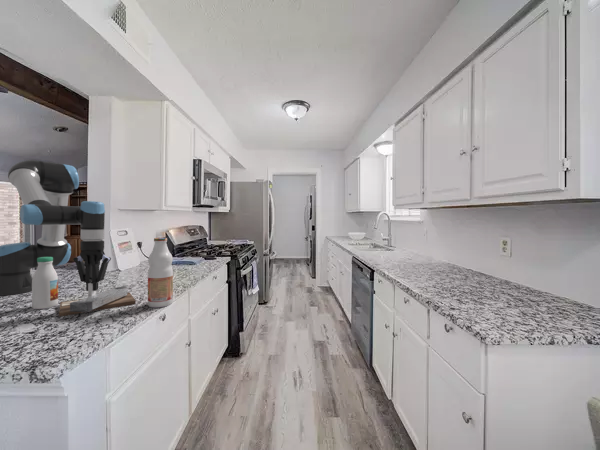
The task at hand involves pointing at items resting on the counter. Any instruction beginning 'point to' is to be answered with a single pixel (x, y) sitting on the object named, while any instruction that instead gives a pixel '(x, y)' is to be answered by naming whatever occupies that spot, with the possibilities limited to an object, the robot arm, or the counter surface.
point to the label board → (116, 303)
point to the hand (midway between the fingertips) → (92, 298)
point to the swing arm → (98, 300)
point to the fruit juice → (160, 275)
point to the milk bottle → (44, 285)
